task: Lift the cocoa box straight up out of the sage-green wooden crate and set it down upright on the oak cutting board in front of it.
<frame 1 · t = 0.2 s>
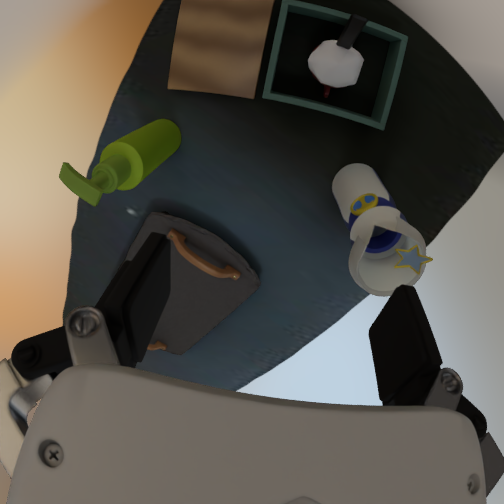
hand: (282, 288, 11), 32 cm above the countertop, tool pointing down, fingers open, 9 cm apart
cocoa: (332, 62, 31), resting in crate
water bottle: (354, 186, 41), on the countertop
serving tray: (171, 290, 58), on the countertop
cutting board: (220, 41, 31), on the countertop
crate: (332, 62, 31), on the countertop
soap dispenser: (161, 135, 40), on the countertop
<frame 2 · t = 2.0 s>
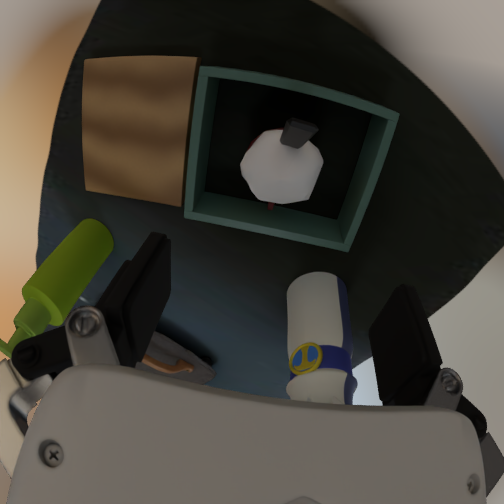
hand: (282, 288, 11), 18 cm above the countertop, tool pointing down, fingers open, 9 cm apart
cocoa: (284, 148, 26), resting in crate
water bottle: (314, 294, 36), on the countertop
serving tray: (134, 363, 53), on the countertop
cutting board: (136, 126, 26), on the countertop
crate: (284, 149, 26), on the countertop
soap dispenser: (93, 234, 35), on the countertop
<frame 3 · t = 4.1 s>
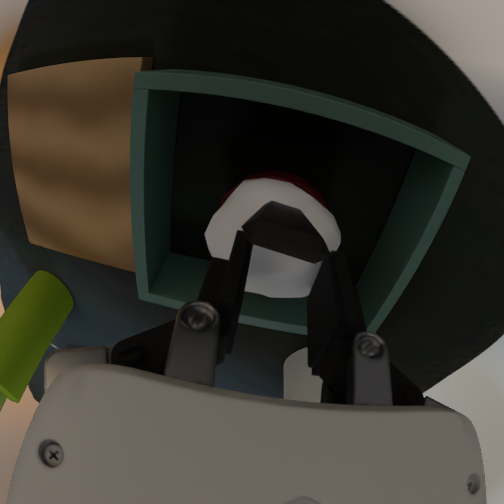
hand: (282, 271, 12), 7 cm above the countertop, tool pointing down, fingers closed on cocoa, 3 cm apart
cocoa: (283, 197, 18), resting in crate, touching gripper
water bottle: (317, 364, 28), on the countertop
cutting board: (74, 163, 17), on the countertop
crate: (283, 197, 18), on the countertop
soap dispenser: (50, 287, 26), on the countertop
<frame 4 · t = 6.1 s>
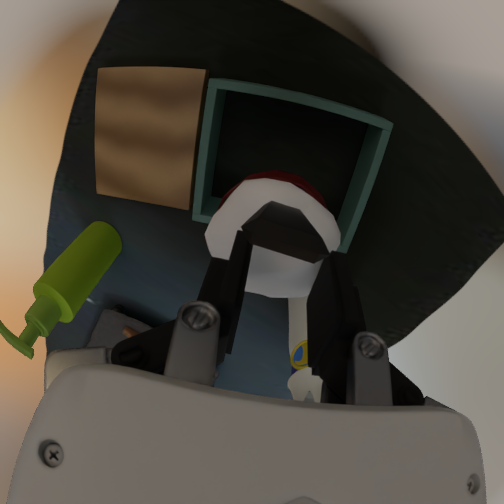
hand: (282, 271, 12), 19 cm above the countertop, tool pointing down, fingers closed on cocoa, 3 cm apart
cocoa: (283, 197, 18), point 12 cm above the countertop, touching gripper
water bottle: (314, 295, 38), on the countertop
serving tray: (138, 364, 54), on the countertop
cutting board: (146, 133, 28), on the countertop
crate: (287, 157, 28), on the countertop
soap dispenser: (102, 236, 36), on the countertop
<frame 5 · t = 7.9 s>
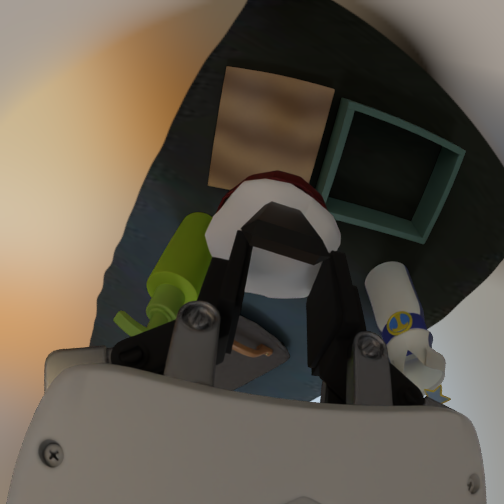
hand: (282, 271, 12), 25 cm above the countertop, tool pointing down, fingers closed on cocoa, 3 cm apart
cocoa: (283, 198, 18), point 18 cm above the countertop, touching gripper
water bottle: (385, 280, 43), on the countertop
serving tray: (200, 354, 59), on the countertop
cutting board: (268, 135, 32), on the countertop
crate: (384, 167, 33), on the countertop
soap dispenser: (198, 227, 41), on the countertop
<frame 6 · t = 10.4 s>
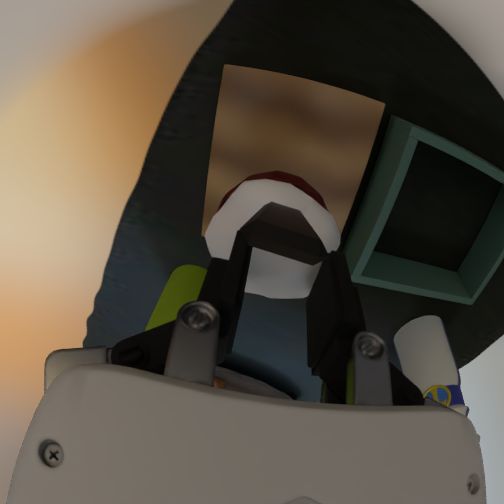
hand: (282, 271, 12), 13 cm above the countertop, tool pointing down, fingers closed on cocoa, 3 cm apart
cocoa: (283, 198, 18), point 7 cm above the countertop, touching gripper
water bottle: (416, 333, 34), on the countertop
serving tray: (201, 400, 50), on the countertop
cutting board: (285, 166, 23), on the countertop
crate: (436, 210, 23), on the countertop
soap dispenser: (191, 281, 32), on the countertop
when the fingers open (8 cm above the countertop, at t = 11.8 s): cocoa stays where it is, resting on cutting board.
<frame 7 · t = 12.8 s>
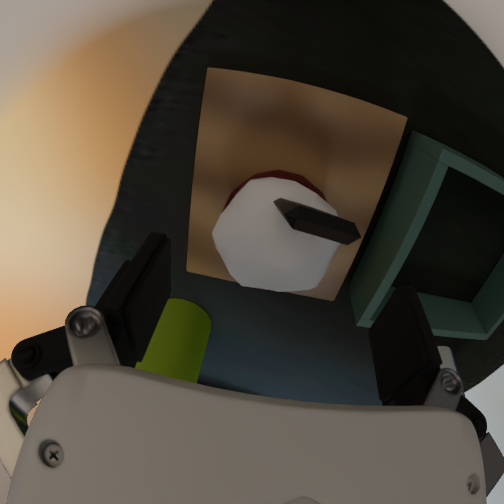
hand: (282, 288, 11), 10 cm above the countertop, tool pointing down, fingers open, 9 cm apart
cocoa: (283, 196, 18), point 1 cm above the countertop, touching cutting board
water bottle: (424, 363, 30), on the countertop
cutting board: (284, 192, 19), on the countertop
crate: (455, 240, 20), on the countertop
soap dispenser: (179, 315, 28), on the countertop
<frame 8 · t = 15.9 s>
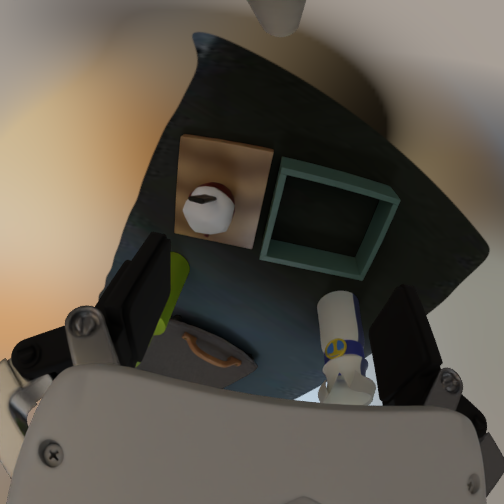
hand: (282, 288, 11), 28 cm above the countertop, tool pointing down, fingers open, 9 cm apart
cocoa: (217, 193, 39), point 1 cm above the countertop, touching cutting board
water bottle: (336, 305, 50), on the countertop
serving tray: (183, 362, 67), on the countertop
cutting board: (220, 191, 40), on the countertop
crate: (325, 214, 40), on the countertop
soap dispenser: (171, 263, 49), on the countertop
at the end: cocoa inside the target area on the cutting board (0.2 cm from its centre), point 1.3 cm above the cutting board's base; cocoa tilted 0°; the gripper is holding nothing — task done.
